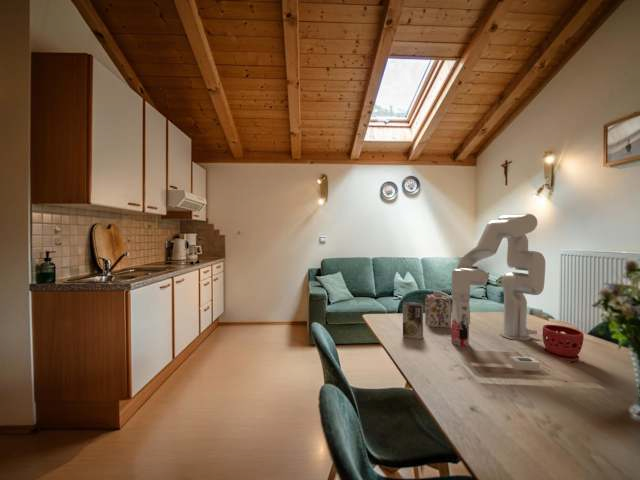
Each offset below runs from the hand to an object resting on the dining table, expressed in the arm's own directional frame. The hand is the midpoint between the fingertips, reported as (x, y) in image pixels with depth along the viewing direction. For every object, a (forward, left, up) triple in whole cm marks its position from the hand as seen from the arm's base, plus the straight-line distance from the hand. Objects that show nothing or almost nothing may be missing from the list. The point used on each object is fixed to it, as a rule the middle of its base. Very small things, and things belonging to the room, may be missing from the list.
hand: (459, 335), depth 138 cm
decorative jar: (0, -34, -5) cm, 35 cm away
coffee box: (+18, -12, -5) cm, 22 cm away
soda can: (0, 0, -5) cm, 5 cm away
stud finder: (-15, +23, -4) cm, 28 cm away
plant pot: (-37, +9, -5) cm, 39 cm away
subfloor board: (-8, +19, -5) cm, 21 cm away
